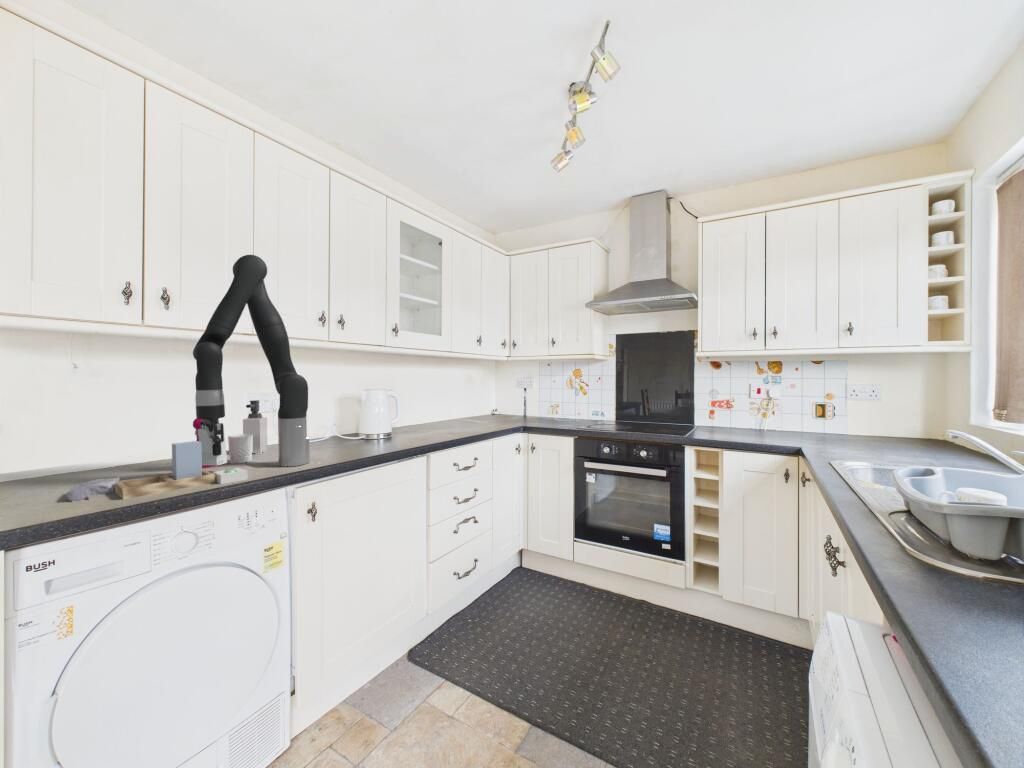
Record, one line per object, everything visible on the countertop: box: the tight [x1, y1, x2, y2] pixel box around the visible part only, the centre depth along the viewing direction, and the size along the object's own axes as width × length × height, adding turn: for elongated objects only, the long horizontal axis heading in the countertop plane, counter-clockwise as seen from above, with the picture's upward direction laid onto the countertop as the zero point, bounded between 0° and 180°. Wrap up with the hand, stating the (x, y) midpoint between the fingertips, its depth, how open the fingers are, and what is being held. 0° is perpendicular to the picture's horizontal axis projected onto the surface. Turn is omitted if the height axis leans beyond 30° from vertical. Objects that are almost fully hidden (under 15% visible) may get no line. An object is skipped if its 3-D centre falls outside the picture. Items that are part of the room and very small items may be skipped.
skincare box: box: [198, 426, 228, 466], centre depth 133 cm, size 6×4×12 cm
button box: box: [212, 467, 249, 485], centre depth 124 cm, size 7×7×4 cm
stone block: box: [65, 477, 121, 502], centre depth 112 cm, size 12×5×10 cm
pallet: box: [114, 468, 216, 500], centre depth 116 cm, size 20×11×4 cm, turn 143°
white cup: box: [227, 433, 253, 464], centre depth 153 cm, size 8×8×10 cm
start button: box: [224, 468, 235, 473], centre depth 124 cm, size 3×3×2 cm
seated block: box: [171, 440, 203, 480], centre depth 119 cm, size 6×4×12 cm, turn 143°
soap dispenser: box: [242, 400, 268, 454], centre depth 170 cm, size 6×9×22 cm
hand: (212, 453), depth 133 cm, fingers closed on skincare box, 7 cm apart
